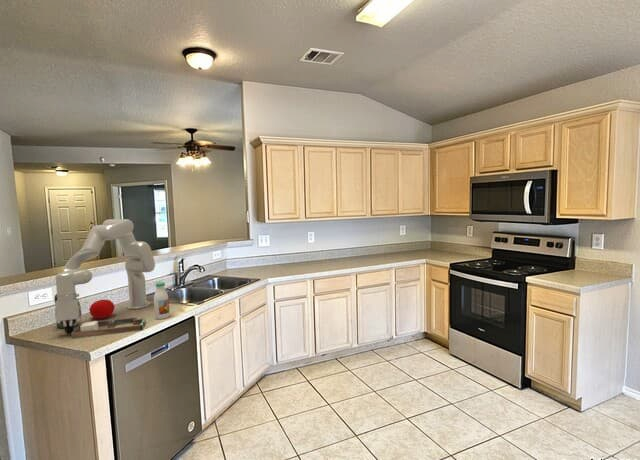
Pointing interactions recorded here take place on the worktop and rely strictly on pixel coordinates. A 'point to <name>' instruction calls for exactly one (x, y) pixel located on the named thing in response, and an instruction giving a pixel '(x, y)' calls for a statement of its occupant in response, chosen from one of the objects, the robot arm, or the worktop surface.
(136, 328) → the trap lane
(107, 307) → the tomato
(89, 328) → the block
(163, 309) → the milk bottle
